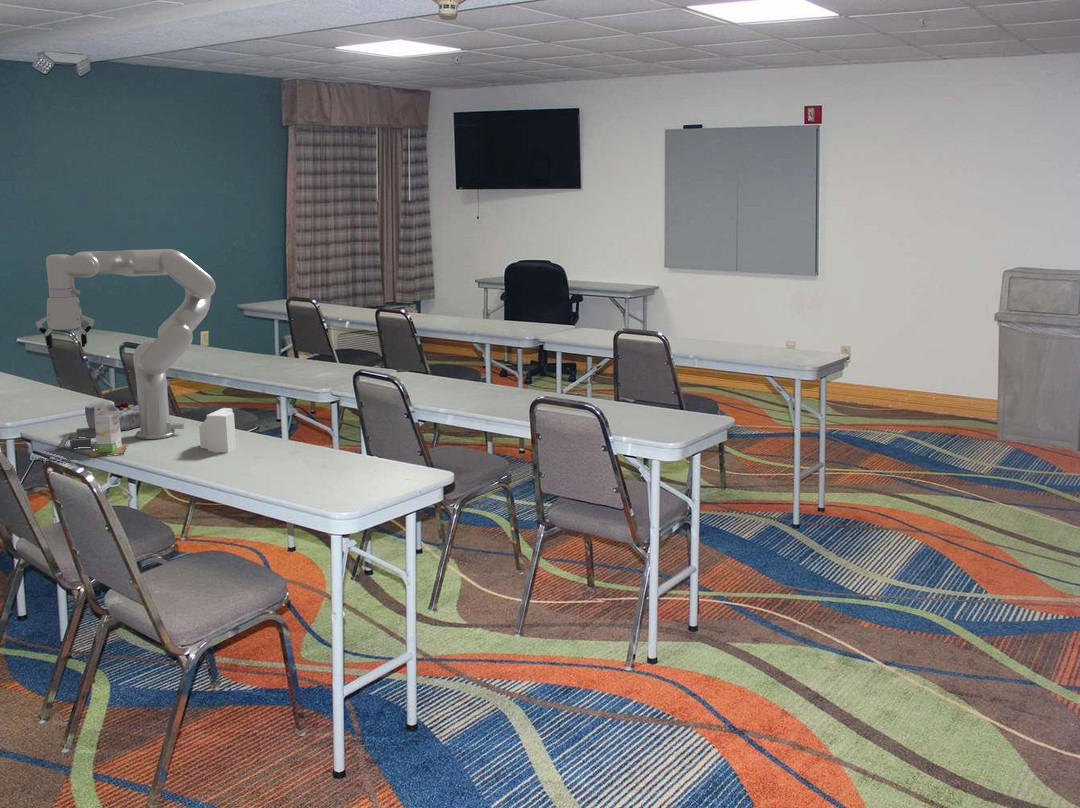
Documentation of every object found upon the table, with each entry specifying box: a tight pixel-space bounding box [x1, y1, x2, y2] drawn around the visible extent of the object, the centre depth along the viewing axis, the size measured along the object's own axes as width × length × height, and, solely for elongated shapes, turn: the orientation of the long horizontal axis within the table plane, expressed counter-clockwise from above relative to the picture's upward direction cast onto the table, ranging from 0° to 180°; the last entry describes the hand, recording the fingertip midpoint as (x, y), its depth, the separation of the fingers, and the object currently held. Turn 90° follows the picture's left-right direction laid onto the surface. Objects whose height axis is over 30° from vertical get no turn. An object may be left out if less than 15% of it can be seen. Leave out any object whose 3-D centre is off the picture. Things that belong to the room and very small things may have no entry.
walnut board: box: [89, 443, 128, 458], centre depth 336 cm, size 10×12×1 cm
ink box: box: [94, 401, 123, 452], centre depth 335 cm, size 9×5×15 cm, turn 1°
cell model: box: [84, 401, 140, 432], centre depth 365 cm, size 13×11×20 cm
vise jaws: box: [57, 427, 96, 451], centre depth 346 cm, size 10×17×3 cm, turn 16°
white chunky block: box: [198, 407, 237, 454], centre depth 339 cm, size 11×11×12 cm
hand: (67, 347), depth 338 cm, fingers open, 9 cm apart
